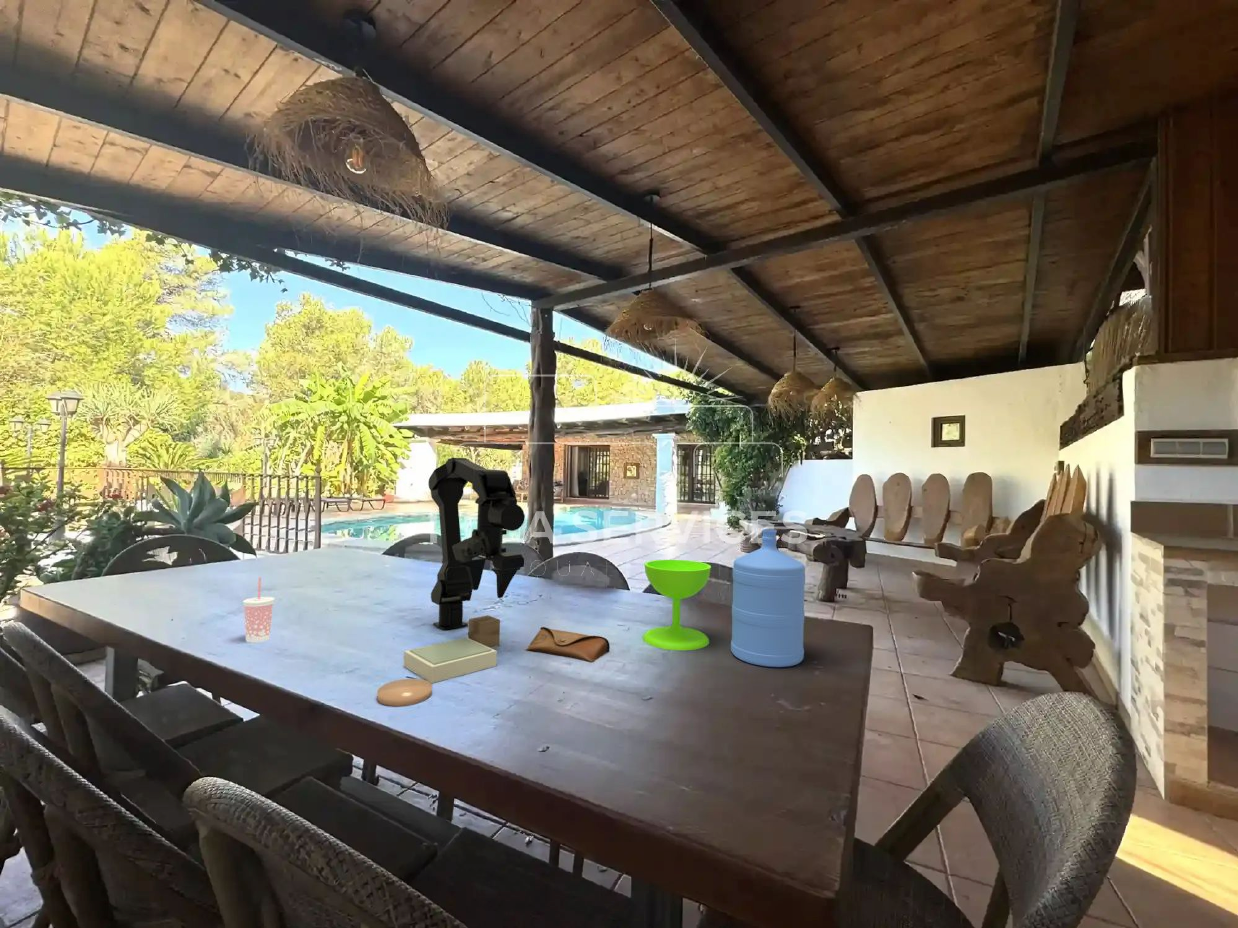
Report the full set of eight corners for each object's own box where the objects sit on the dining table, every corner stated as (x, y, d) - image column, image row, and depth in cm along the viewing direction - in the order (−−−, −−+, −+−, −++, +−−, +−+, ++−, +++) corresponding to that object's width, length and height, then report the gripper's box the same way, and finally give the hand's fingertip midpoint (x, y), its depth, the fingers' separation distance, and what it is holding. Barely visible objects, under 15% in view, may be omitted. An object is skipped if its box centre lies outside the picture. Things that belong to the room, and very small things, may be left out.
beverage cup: (270, 641, 124) (272, 579, 124) (238, 644, 122) (240, 581, 122) (276, 634, 130) (278, 574, 130) (245, 636, 128) (247, 575, 128)
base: (403, 666, 111) (404, 649, 111) (466, 651, 121) (466, 635, 121) (431, 683, 103) (432, 665, 103) (496, 665, 113) (496, 649, 113)
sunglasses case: (520, 650, 122) (529, 620, 126) (534, 658, 128) (542, 629, 131) (594, 662, 116) (602, 631, 119) (605, 670, 121) (612, 640, 124)
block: (468, 645, 125) (468, 618, 125) (487, 640, 129) (488, 615, 129) (479, 650, 122) (480, 623, 122) (499, 646, 125) (499, 619, 125)
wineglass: (635, 645, 128) (637, 567, 128) (651, 627, 143) (653, 557, 144) (704, 653, 123) (706, 573, 124) (713, 633, 139) (714, 562, 139)
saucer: (368, 694, 97) (368, 687, 97) (417, 681, 103) (418, 674, 103) (390, 710, 91) (390, 703, 91) (441, 696, 97) (441, 689, 97)
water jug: (808, 671, 114) (811, 535, 114) (730, 664, 117) (733, 532, 117) (799, 648, 129) (801, 528, 129) (730, 642, 132) (733, 525, 132)
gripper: (435, 522, 125) (433, 591, 125) (485, 532, 113) (482, 608, 113) (477, 520, 134) (474, 584, 134) (527, 529, 121) (524, 599, 122)
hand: (487, 593), depth 125 cm, fingers open, 9 cm apart
